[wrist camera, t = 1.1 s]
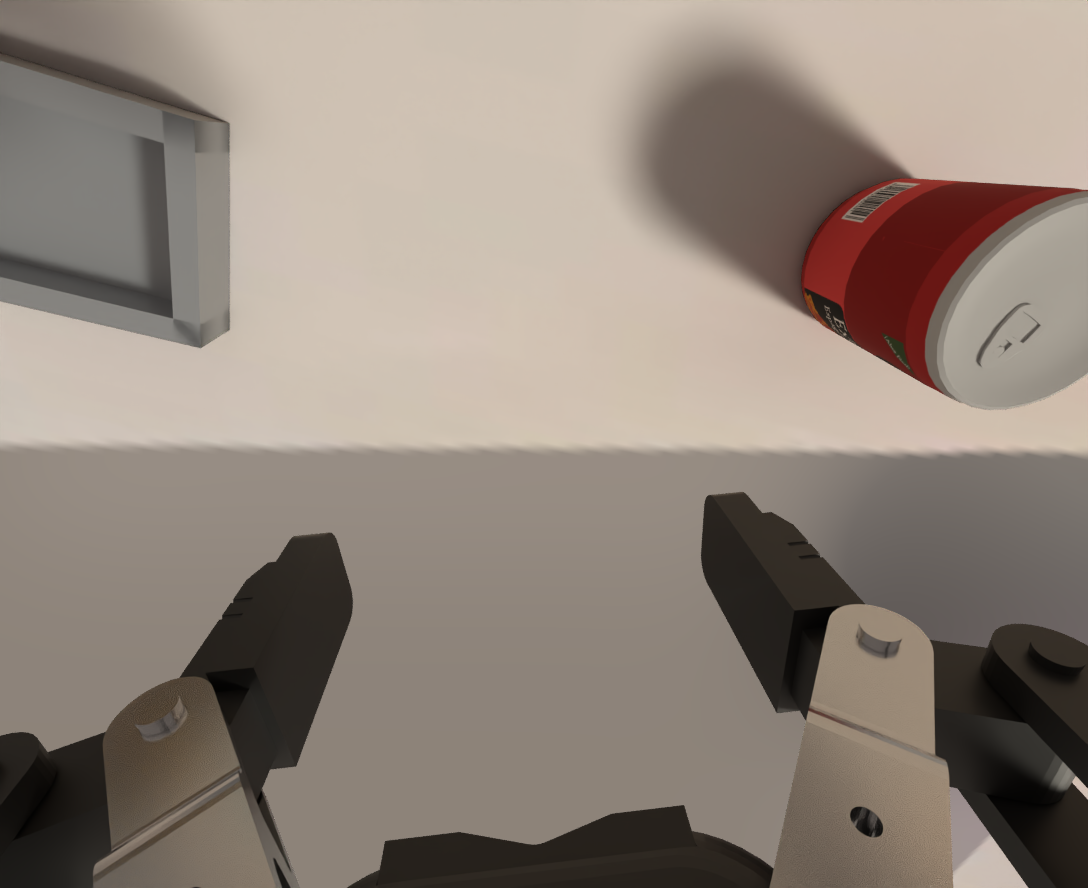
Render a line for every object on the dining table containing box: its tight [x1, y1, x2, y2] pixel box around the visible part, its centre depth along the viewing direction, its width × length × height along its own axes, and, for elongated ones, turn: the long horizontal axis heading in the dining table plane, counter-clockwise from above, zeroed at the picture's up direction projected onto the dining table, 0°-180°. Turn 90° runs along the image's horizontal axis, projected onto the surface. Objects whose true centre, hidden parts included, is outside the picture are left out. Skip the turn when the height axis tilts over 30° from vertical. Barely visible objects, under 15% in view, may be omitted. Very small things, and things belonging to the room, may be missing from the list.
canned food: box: [801, 179, 1088, 410], centre depth 23 cm, size 8×8×11 cm
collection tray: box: [0, 53, 229, 348], centre depth 24 cm, size 10×13×3 cm
